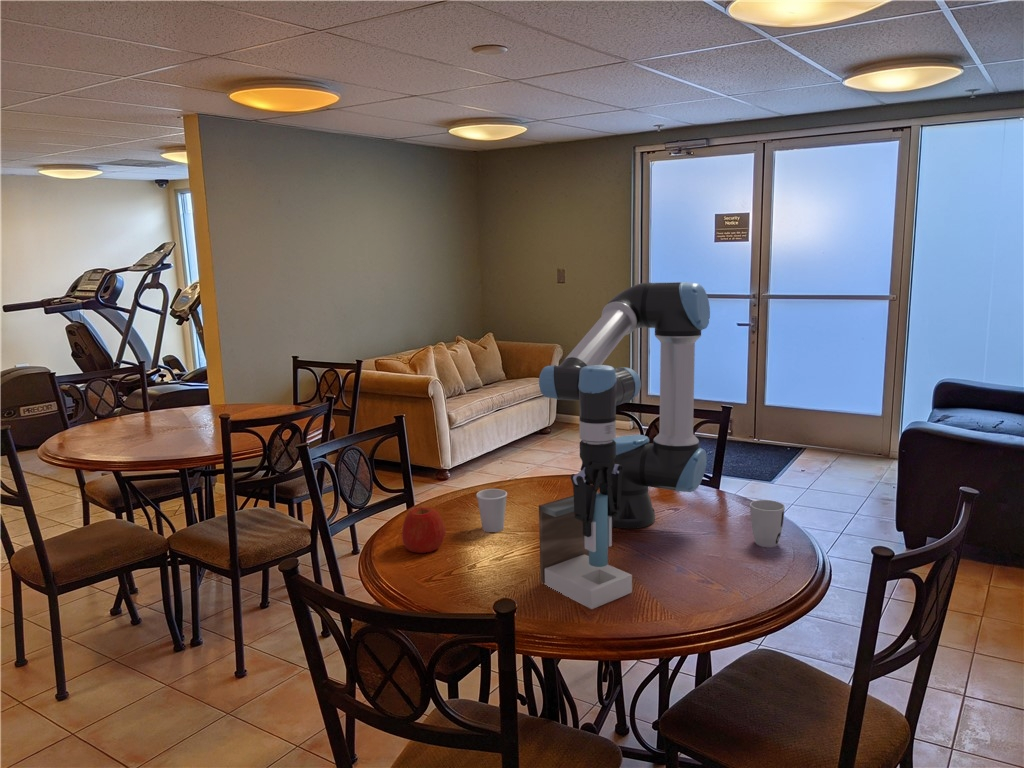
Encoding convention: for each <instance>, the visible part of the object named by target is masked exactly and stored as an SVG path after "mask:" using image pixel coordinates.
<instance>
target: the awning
mask: <svg viewBox="0 0 1024 768" xmlns="http://www.w3.org/2000/svg"><path fill="white" fill-rule="evenodd" d="M587 516H588V515H587ZM538 527H539V528H538V529H539V531H538V532H539V533H538V534H539V568H540V570H539V572H540V573H539V574H540V575H539V576H540V584H541V583H543V584H544V583H545V568H547V567H550V566H553V565H556V564H559V563H561V562H564V561H567V560H570V559H572V558H575V557H578V556H581V555H584V554H585V555H587V556H589V550H587V549H585V536H584V535H583V522H582V521H581V520H578V519H575V517H574V494H573V495H570V496H566V497H563V498H560V499H555V500H553V501H550V502H546V503H542V504H539V505H538ZM543 584H542V585H543ZM544 585H545V584H544Z"/></svg>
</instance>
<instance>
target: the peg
mask: <svg viewBox="0 0 1024 768" xmlns="http://www.w3.org/2000/svg"><path fill="white" fill-rule="evenodd" d="M593 521H595V522H596V552H592V551H589V564H590V565H591V566H595V567H603V566H606V565H607V564H608V565H609V557H608V556H609V548H608V547H609V546H608V495H606V494H603V493H600V492H597V494H596V501H595V508H594V515H593Z"/></svg>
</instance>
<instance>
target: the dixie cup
mask: <svg viewBox="0 0 1024 768" xmlns="http://www.w3.org/2000/svg"><path fill="white" fill-rule="evenodd" d="M475 496H476V499H477V504H478V510H479V515H480V522H481V527H482V531H483V530H484V532H485V531H486V532H485V533H489V532H495V533H499V532H501V531H504V525H505V517H506V516H505V515H506V503H507V496H508V492H507V491H506V490H504V489H499V488H487V489H486V488H485V489H483V490H480V491H478V492H477V493H476V495H475Z"/></svg>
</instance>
